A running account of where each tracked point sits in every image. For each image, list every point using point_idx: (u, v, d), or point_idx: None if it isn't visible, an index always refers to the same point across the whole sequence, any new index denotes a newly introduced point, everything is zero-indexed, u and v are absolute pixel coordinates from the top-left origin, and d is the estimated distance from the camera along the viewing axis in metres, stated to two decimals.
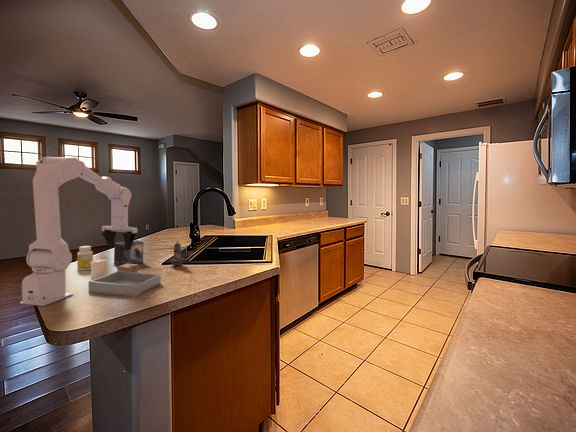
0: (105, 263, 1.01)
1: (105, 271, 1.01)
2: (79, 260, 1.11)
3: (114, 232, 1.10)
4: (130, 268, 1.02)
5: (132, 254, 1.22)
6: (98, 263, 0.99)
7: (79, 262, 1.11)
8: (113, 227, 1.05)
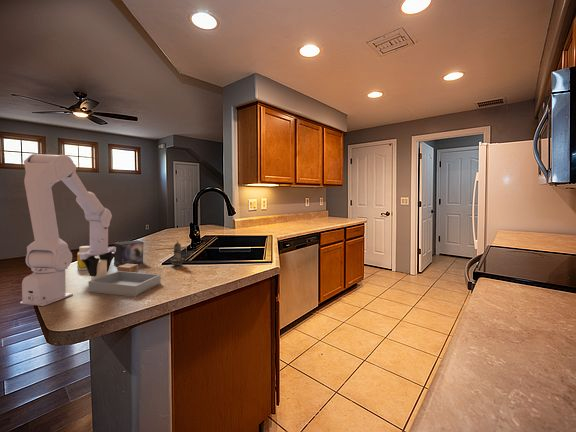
0: (105, 263, 1.01)
1: (105, 271, 1.01)
2: (79, 260, 1.11)
3: (108, 255, 1.04)
4: (130, 268, 1.02)
5: (132, 254, 1.22)
6: (98, 263, 0.99)
7: (79, 262, 1.11)
8: None
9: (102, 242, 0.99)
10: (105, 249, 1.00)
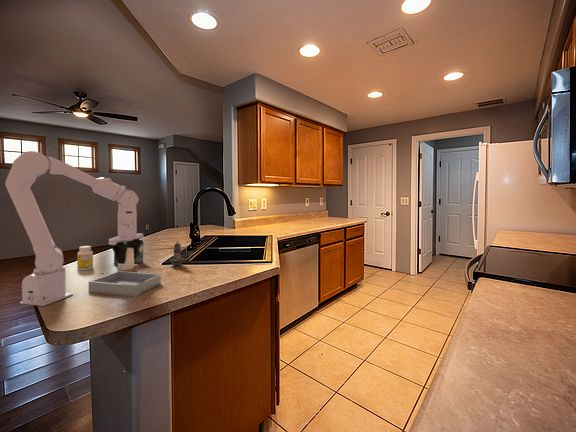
0: (132, 251, 0.94)
1: (132, 259, 0.95)
2: (79, 260, 1.11)
3: (136, 242, 0.97)
4: None
5: None
6: None
7: (79, 262, 1.11)
8: None
9: (131, 227, 0.92)
10: (134, 235, 0.94)
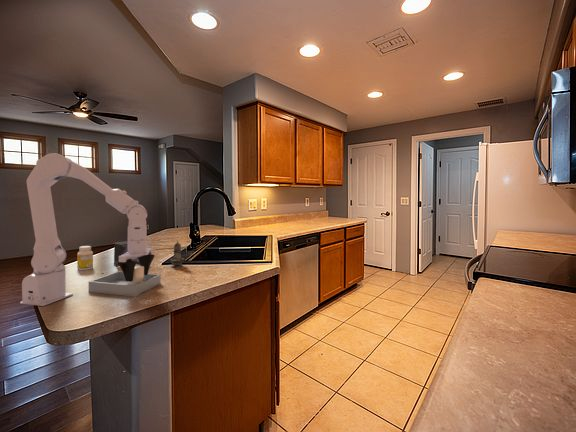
0: (142, 270, 0.92)
1: (142, 279, 0.93)
2: (79, 260, 1.11)
3: (148, 257, 0.96)
4: None
5: None
6: (135, 270, 0.90)
7: (79, 262, 1.11)
8: None
9: (141, 243, 0.90)
10: (144, 251, 0.92)
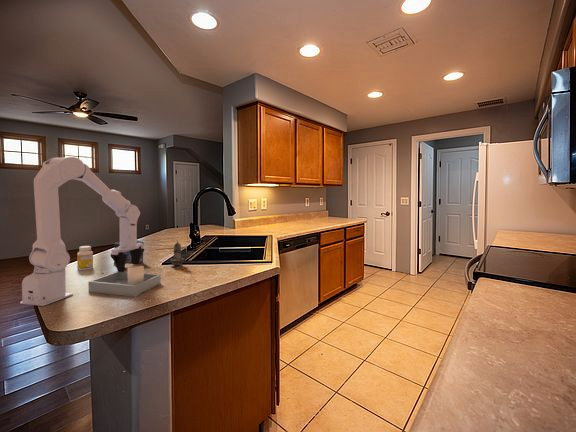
0: (142, 270, 0.92)
1: (142, 279, 0.93)
2: (79, 260, 1.11)
3: (138, 251, 1.07)
4: None
5: None
6: (135, 270, 0.90)
7: (79, 262, 1.11)
8: None
9: (132, 238, 1.02)
10: (134, 245, 1.03)
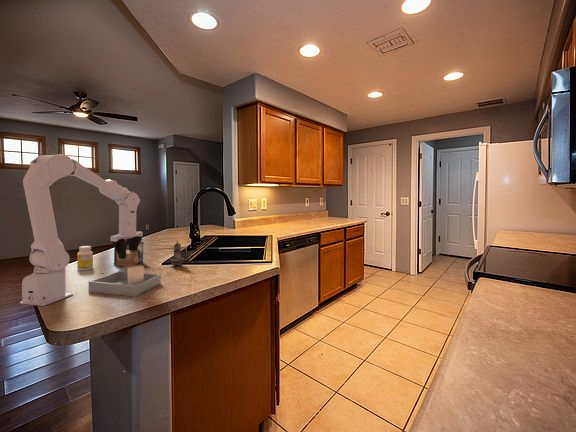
0: (142, 270, 0.92)
1: (142, 279, 0.93)
2: (79, 260, 1.11)
3: (136, 239, 1.05)
4: (129, 254, 1.01)
5: None
6: (135, 270, 0.90)
7: (79, 262, 1.11)
8: None
9: (131, 225, 1.01)
10: (134, 233, 1.02)
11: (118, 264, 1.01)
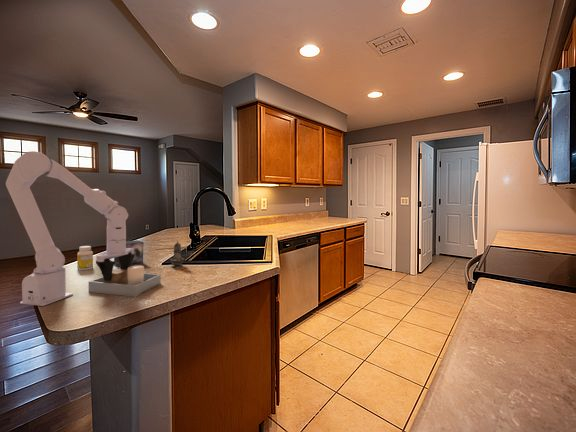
0: (142, 270, 0.92)
1: (142, 279, 0.93)
2: (79, 260, 1.11)
3: (128, 257, 0.97)
4: (118, 274, 0.92)
5: None
6: (135, 270, 0.90)
7: (79, 262, 1.11)
8: None
9: (120, 243, 0.92)
10: (123, 250, 0.93)
11: None
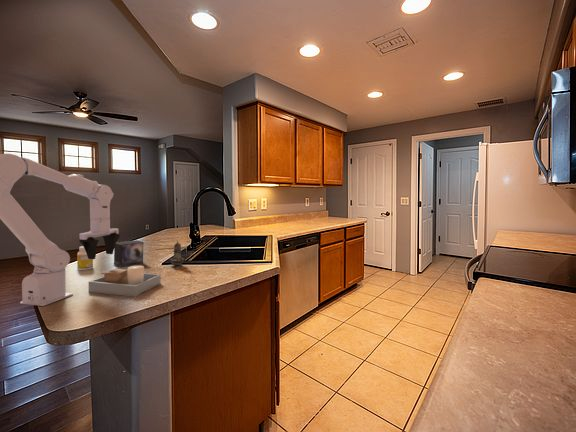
0: (142, 270, 0.92)
1: (142, 279, 0.93)
2: (79, 260, 1.11)
3: (112, 236, 0.97)
4: (118, 274, 0.92)
5: (132, 254, 1.22)
6: (135, 270, 0.90)
7: (79, 262, 1.11)
8: None
9: (104, 222, 0.92)
10: (107, 229, 0.93)
11: None
